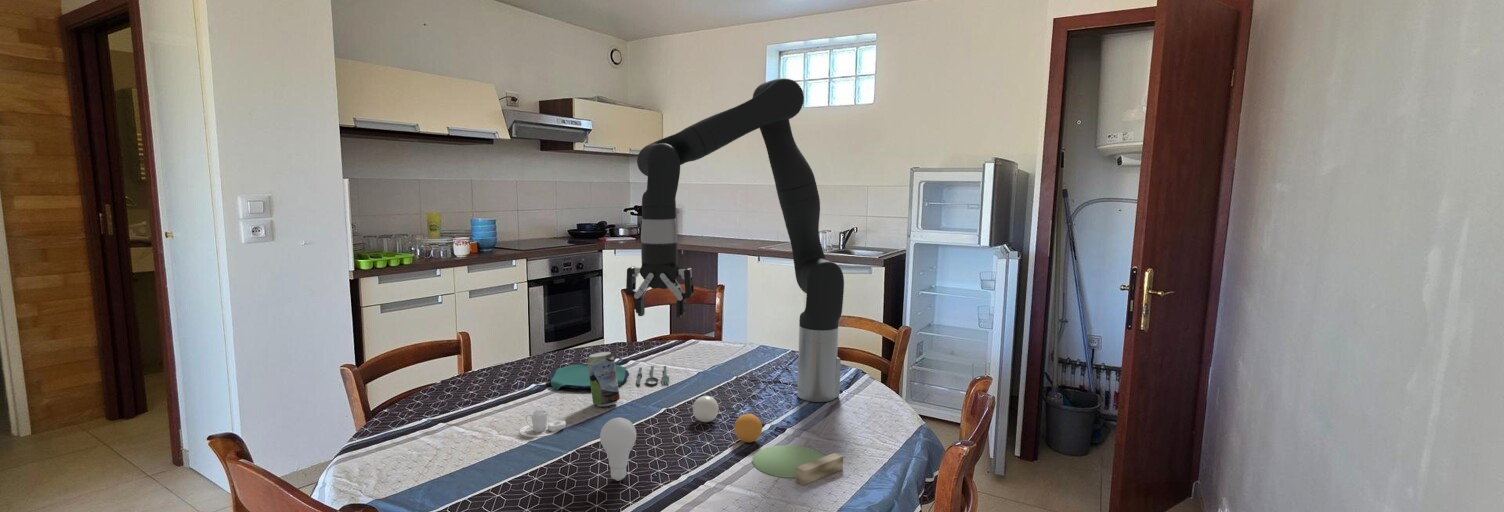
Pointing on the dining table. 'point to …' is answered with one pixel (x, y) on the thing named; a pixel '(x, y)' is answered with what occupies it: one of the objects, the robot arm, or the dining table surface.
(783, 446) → the green mark
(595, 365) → the beverage can
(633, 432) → the lightbulb
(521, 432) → the teacup and saucer
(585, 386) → the cutlery set
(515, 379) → the dining table surface
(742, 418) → the orange ball
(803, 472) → the stopper wall
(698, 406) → the white ball
